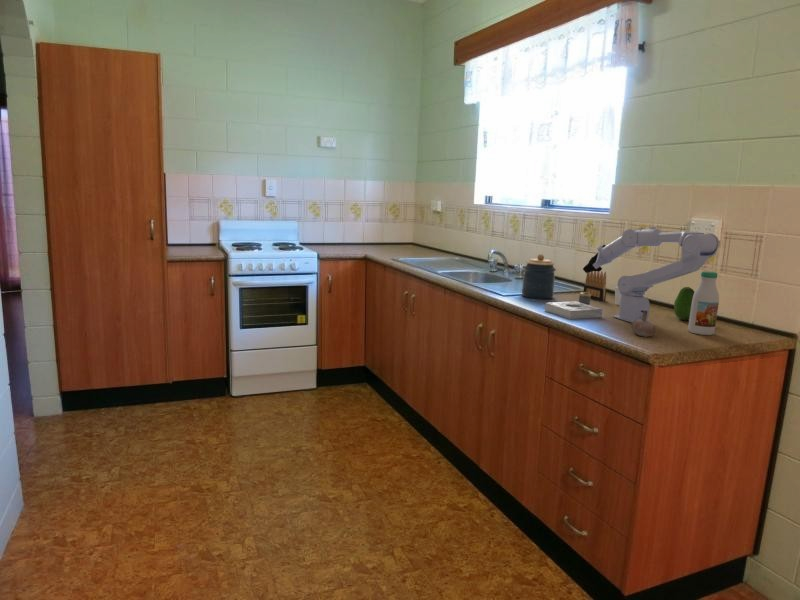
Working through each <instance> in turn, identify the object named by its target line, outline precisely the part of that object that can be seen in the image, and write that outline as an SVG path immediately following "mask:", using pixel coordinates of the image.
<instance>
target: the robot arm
mask: <svg viewBox="0 0 800 600" xmlns="http://www.w3.org/2000/svg"><path fill="white" fill-rule="evenodd" d="M662 243H678V245H679V247H681V257H680V258H681V259H680V260H678V261H674V262H671V263H668V264H666V265H663V266H660V267H656V268H654V269H652V270H648V271H646V272H642V273H638V274H633V275H621V276H620V277H619V278H618V280H617V286H618V289H619V291H620V294H621V300H620V305H619V310H618V315H617V314H616V315H613V316H612V317H613V318H616V319H619V320H622V321H626V322H628V323H631V324H632V323H633V322H634V321H635V320H642V317H643V312H644V311H645V310H647V316H646V321H647V322H650V319H649V313H650V301H649V299H648V298H646V297H645V296H644V295H645V293H646V292H648V290H649V289H650V288H653V287H654V286H655V285H658V284H660V283H663V282H664V283H665V282H667V281H670V280H673V279H676V278H679V277H683V276H686V275H689V274H692V273H695V272H697V271H699V270H700V269H701V268H702V267H703V266H704V264H706V263H707V261H708V260H709V259H711V258H712V257H714V256H715V255H716V254H717V252H718V249H719V246H720V240H719V237H717V235H715V234H713V233H711V232H710V233H704V232H698V231H668V232H663V231H662V230H661V229H659V228H657V227H656V226H651V227H649V228H644V227H638V229H632V228H630V229H625V230H624V231H623V232H622V235H621V236H619V237H618V238H616V239H615V240H613V241H612V242H610V243H609V244H607V245H606V244H603V245H599V246H598V247H597V250H598V252H597V253H596V254H595V255H594V256H591V258H590V259H589V261H588V263H587V264H585V266H584V267H583V268H582V270H583V272H585V273H586V274H587V273H589V272H592V271H593V272H594V271H596V272H599V273H600V272H601V271H603V267H602V266H604V265H608V264H611V263H612V262H613V261H614V260H616V259H617V258H619V257H621V256H622V255H624V254H626V253H628V252H629V251H630V250H632V249H634V248H635V247H659V246H660V245H662Z"/></svg>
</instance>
